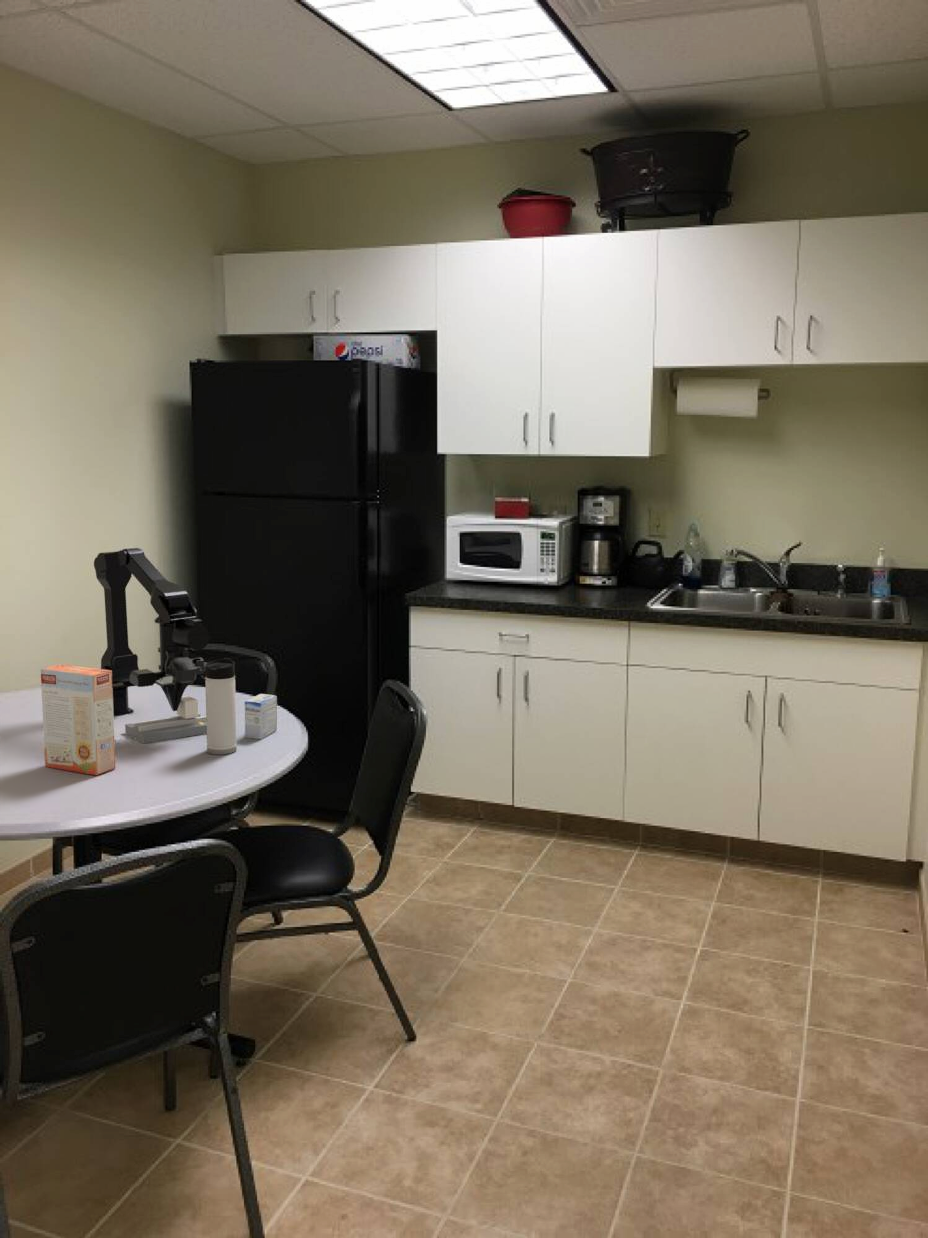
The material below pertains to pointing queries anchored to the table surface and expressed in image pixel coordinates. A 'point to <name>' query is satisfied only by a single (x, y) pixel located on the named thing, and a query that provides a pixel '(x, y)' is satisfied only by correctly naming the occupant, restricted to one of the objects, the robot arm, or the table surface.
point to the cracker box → (78, 719)
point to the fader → (187, 708)
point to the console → (166, 728)
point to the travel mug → (220, 706)
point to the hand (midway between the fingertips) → (174, 710)
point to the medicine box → (260, 716)
